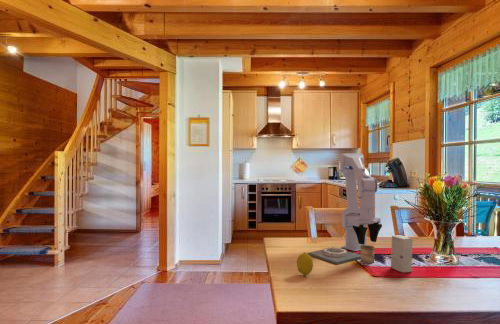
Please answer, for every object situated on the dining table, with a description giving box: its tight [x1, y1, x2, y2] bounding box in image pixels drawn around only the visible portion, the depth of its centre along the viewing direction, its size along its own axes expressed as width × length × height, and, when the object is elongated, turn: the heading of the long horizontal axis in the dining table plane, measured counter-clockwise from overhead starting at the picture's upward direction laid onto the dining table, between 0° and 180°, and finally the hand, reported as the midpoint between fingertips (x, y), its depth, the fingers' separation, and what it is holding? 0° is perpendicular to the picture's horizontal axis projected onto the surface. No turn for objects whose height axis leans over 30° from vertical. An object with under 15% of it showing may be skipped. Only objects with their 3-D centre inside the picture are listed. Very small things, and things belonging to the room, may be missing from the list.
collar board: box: [307, 247, 361, 265], centre depth 132 cm, size 16×16×2 cm
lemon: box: [296, 252, 314, 277], centre depth 109 cm, size 6×6×8 cm
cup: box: [360, 244, 375, 264], centre depth 125 cm, size 5×5×6 cm
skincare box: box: [390, 234, 413, 273], centre depth 116 cm, size 6×4×12 cm
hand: (367, 242), depth 125 cm, fingers open, 7 cm apart
